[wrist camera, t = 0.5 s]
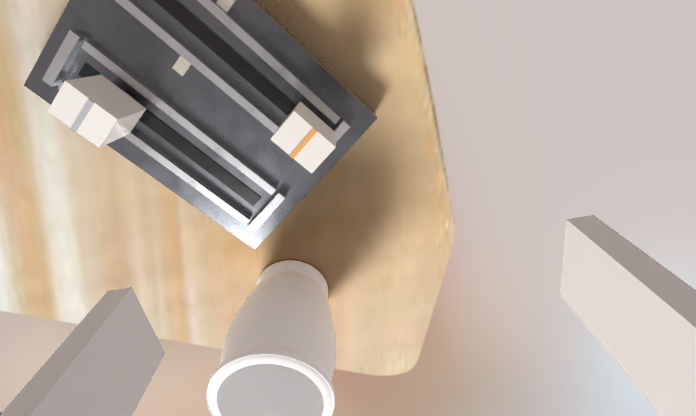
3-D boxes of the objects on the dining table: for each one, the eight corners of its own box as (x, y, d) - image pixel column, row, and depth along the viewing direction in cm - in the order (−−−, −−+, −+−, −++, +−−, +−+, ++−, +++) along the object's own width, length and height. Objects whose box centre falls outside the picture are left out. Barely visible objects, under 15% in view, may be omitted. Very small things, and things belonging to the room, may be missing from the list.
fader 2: (281, 123, 33) (269, 139, 28) (301, 98, 32) (294, 111, 27) (316, 152, 34) (311, 174, 29) (336, 130, 34) (335, 147, 28)
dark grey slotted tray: (44, 81, 34) (14, 86, 31) (147, -102, 29) (123, -119, 26) (259, 237, 41) (252, 254, 38) (375, 113, 36) (378, 120, 33)
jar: (340, 323, 46) (338, 444, 33) (255, 327, 47) (219, 449, 33) (334, 248, 42) (329, 351, 28) (240, 252, 42) (191, 358, 28)
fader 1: (93, 98, 32) (46, 111, 27) (109, 73, 31) (63, 80, 26) (136, 130, 33) (98, 148, 28) (152, 106, 33) (117, 120, 27)
